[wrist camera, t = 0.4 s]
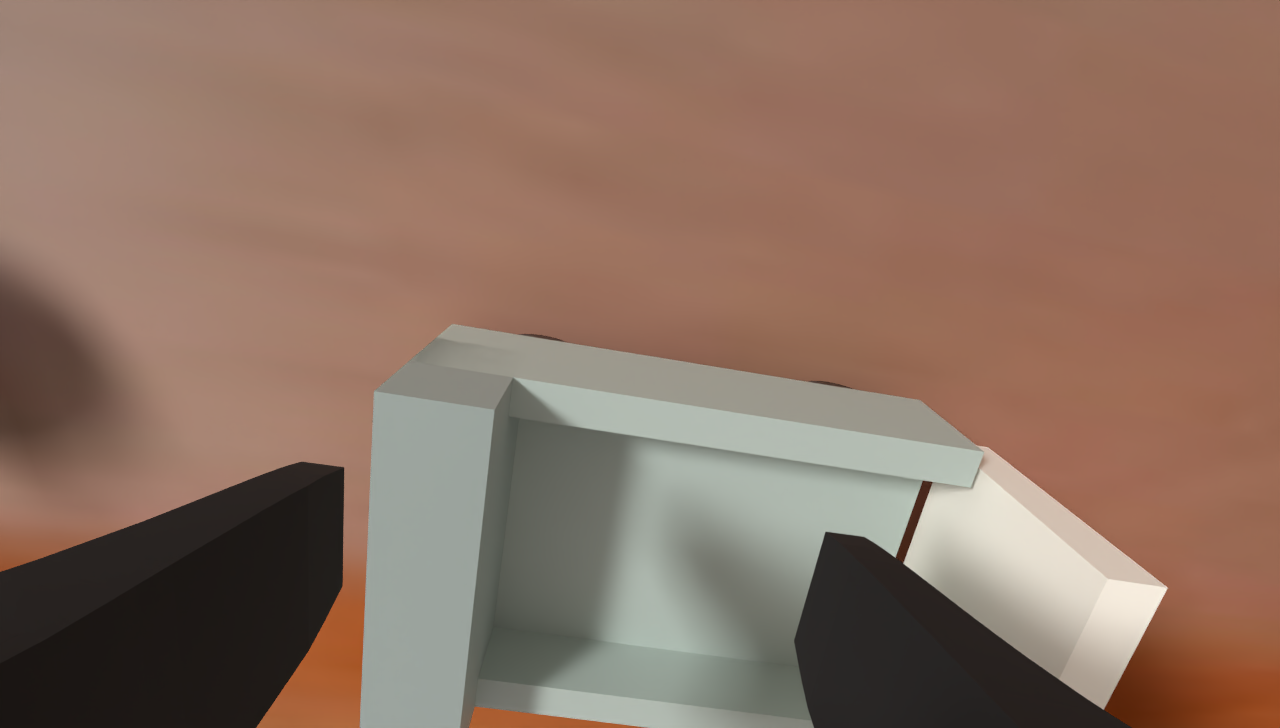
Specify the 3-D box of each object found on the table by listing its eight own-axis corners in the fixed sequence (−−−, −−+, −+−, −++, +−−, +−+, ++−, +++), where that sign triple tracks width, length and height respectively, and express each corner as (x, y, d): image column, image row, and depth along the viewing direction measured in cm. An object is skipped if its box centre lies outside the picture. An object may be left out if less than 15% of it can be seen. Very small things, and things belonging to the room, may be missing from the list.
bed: (822, 641, 22) (896, 824, 16) (438, 589, 21) (358, 762, 15) (905, 388, 19) (1036, 493, 13) (461, 315, 18) (374, 391, 12)
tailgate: (906, 691, 20) (1018, 904, 14) (859, 685, 20) (953, 897, 14) (1001, 449, 17) (1187, 590, 11) (947, 440, 17) (1107, 578, 11)
